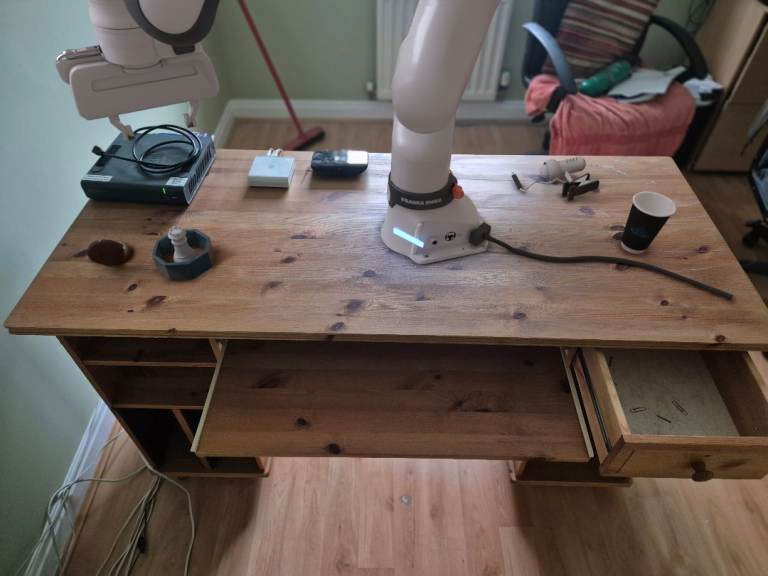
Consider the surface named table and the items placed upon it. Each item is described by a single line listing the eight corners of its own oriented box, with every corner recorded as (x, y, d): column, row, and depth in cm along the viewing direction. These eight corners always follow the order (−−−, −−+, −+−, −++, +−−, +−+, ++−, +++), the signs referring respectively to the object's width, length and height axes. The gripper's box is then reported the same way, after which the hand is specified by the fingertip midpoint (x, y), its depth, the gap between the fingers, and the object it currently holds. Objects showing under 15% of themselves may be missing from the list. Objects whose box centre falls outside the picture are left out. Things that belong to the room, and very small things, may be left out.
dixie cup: (621, 259, 101) (642, 215, 93) (607, 234, 107) (626, 191, 99) (659, 258, 102) (683, 215, 94) (644, 233, 107) (665, 190, 99)
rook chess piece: (203, 258, 99) (193, 226, 93) (188, 272, 96) (176, 240, 90) (185, 251, 100) (174, 219, 94) (170, 265, 97) (157, 233, 91)
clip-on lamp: (521, 213, 116) (599, 196, 115) (522, 193, 111) (603, 175, 110) (507, 180, 123) (581, 164, 122) (508, 160, 118) (584, 142, 117)
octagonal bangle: (216, 243, 102) (212, 227, 99) (210, 278, 95) (205, 262, 92) (164, 246, 101) (158, 230, 98) (154, 281, 94) (148, 266, 91)
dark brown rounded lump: (131, 242, 102) (118, 213, 96) (131, 267, 96) (117, 239, 91) (89, 249, 100) (73, 221, 94) (85, 276, 94) (69, 247, 89)
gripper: (52, 61, 63) (93, 157, 73) (212, 37, 71) (229, 127, 81) (47, 43, 67) (87, 137, 77) (199, 23, 75) (218, 111, 85)
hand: (161, 132), depth 79 cm, fingers open, 8 cm apart
